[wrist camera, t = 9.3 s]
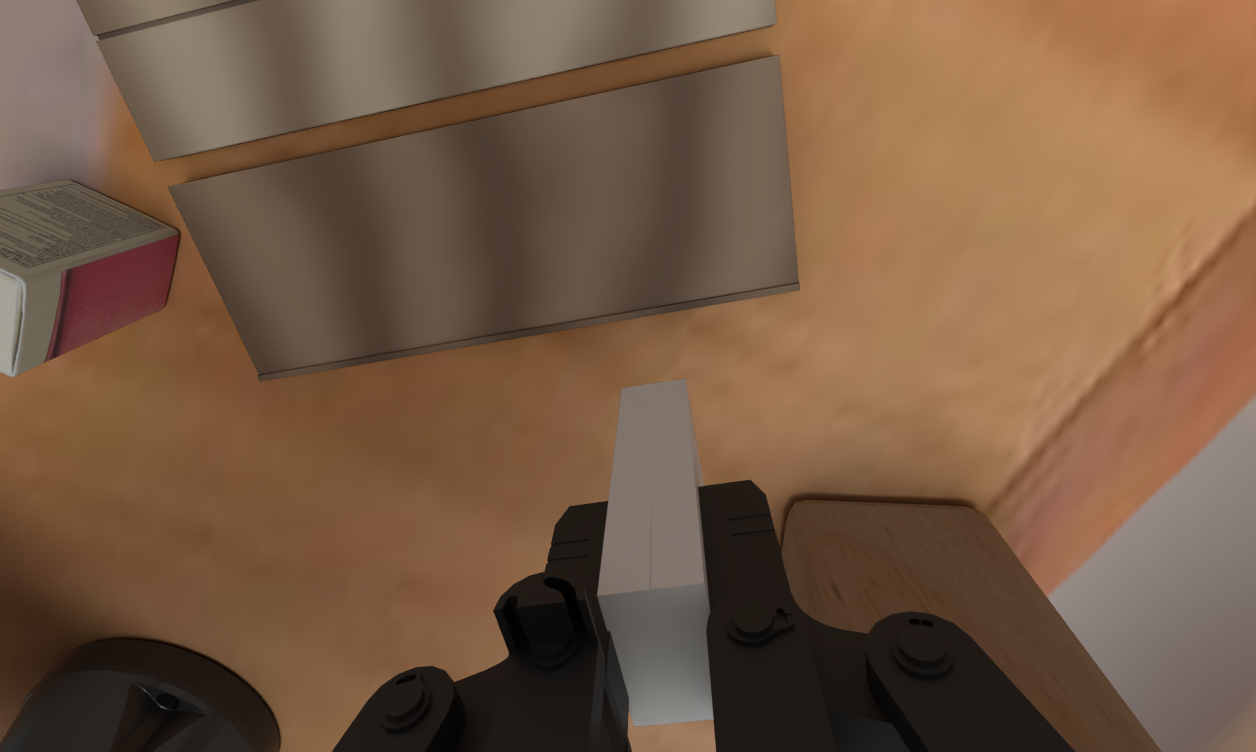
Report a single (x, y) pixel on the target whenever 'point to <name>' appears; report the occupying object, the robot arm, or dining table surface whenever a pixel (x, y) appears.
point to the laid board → (364, 55)
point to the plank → (507, 224)
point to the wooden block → (954, 603)
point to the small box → (74, 270)
